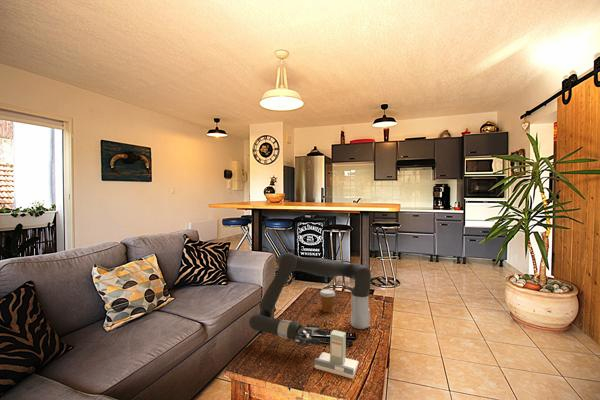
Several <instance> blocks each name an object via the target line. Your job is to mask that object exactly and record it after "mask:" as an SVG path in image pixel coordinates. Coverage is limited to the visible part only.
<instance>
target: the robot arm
mask: <svg viewBox="0 0 600 400" xmlns="http://www.w3.org/2000/svg"><path fill="white" fill-rule="evenodd" d="M276 265H277V267H278V269H277V272H276V274H275V276H274V278H273V279H272V281H271V283H270V284H269V286H268V287H267V289H266V290H265V292H264V294H263V297H262V298H261V301H260V303H259V308H260V312H259V313H256V314H253V315H252V316H250V317H249V319H248V325H249V327H250V328H251V330H253V331H257V332H262V333H268V334H271V335H273V336H276V337H277V336H278V337H281V338H283V339H285V340H291V341H294V342H295V344H298V345H301V346H305V347H309V345H315V346H321V339H319V338H315V337H314V336H315V335H319V336H324V337H327V335H328V331H327V330H325V329H321V328H320V326H319V325H316V324H310V323H307V324H306V326H303V324H302V323H301V322H297V321H294V320H293V321H292V320H286V319H281V318H278V317H277V318H276V317H272V316H273V310H274V308H275V307H276V304H277V301H278V299H279V297H280V296H281V295H280V294H281V293H282V291H283V289H284V287H285V285H286V283H287V281H288V280H289V278H290V276H291V275H292V273H293V272H294V271H296V272H304V273H307V274H309V275H314V276H317V277H318V276H319V277H324V278H325V277H326V278H335V277H345V278H350V279H353V280H354V287H352V288H351V297H350V298H351V302H350V303H351V305H350V307H351V308H350V315H351V316H350V325H351V327H353V328H354V329H358V330H365V329H367V328H369V327H370V324H371V323H370V321H371V319H370V317H371V315H370V314H371V310H370V308H369V296H370V294H369V293H370V291H371V285H372V284H371V280H372V276H371V275H372V273H371V271H370V269H369V268H368V267H366V266H365V265H363V264H360V263H349V262H341V261H337V260H334V259H330V258H329V259H328V258H321V257H305V256H304V257H302V256H298V255H295V254H294V253H292V252H282V253H280V254H279V256H278V257H277V258H276Z"/></svg>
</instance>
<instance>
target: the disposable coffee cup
mask: <svg viewBox="0 0 600 400" xmlns="http://www.w3.org/2000/svg"><path fill="white" fill-rule="evenodd" d="M319 295H320V303H321V310H322V312H324V313H332V312H333V308H334V302H335V301H334V300H335V296H336V292H335V290H333V289H331V288H323V289H321V290H320V292H319Z"/></svg>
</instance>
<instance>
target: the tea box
mask: <svg viewBox="0 0 600 400" xmlns="http://www.w3.org/2000/svg"><path fill="white" fill-rule="evenodd" d="M346 335H347V333H346V332H344V331H340V330H336V329H333V330H332V331H331V333H330V335H329V336H330V341H329V348H330V349H329V354H330V362H333V363H336V364H340V365H343V364H344V362H345V358H346V354H347V353H346V350H347V348H346V344H347V341H346V340H347V336H346Z"/></svg>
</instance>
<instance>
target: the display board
mask: <svg viewBox="0 0 600 400" xmlns="http://www.w3.org/2000/svg"><path fill="white" fill-rule="evenodd" d="M358 367H359V360H357V359H352V358H347V357H345V362H344V364H343V365H340V364H336V363H333V362H330V352H329V353H327V352H324V351H322V352H321V354H320V355H319V356H318V357H315V359H314V369H317V370H320V371H325V372H326V373H327V372H328V373H331V374H334V375H339V376H342V377H346V378H349V379H352V380H353V379H354V377H355V374H356V372H357V370H358Z"/></svg>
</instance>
